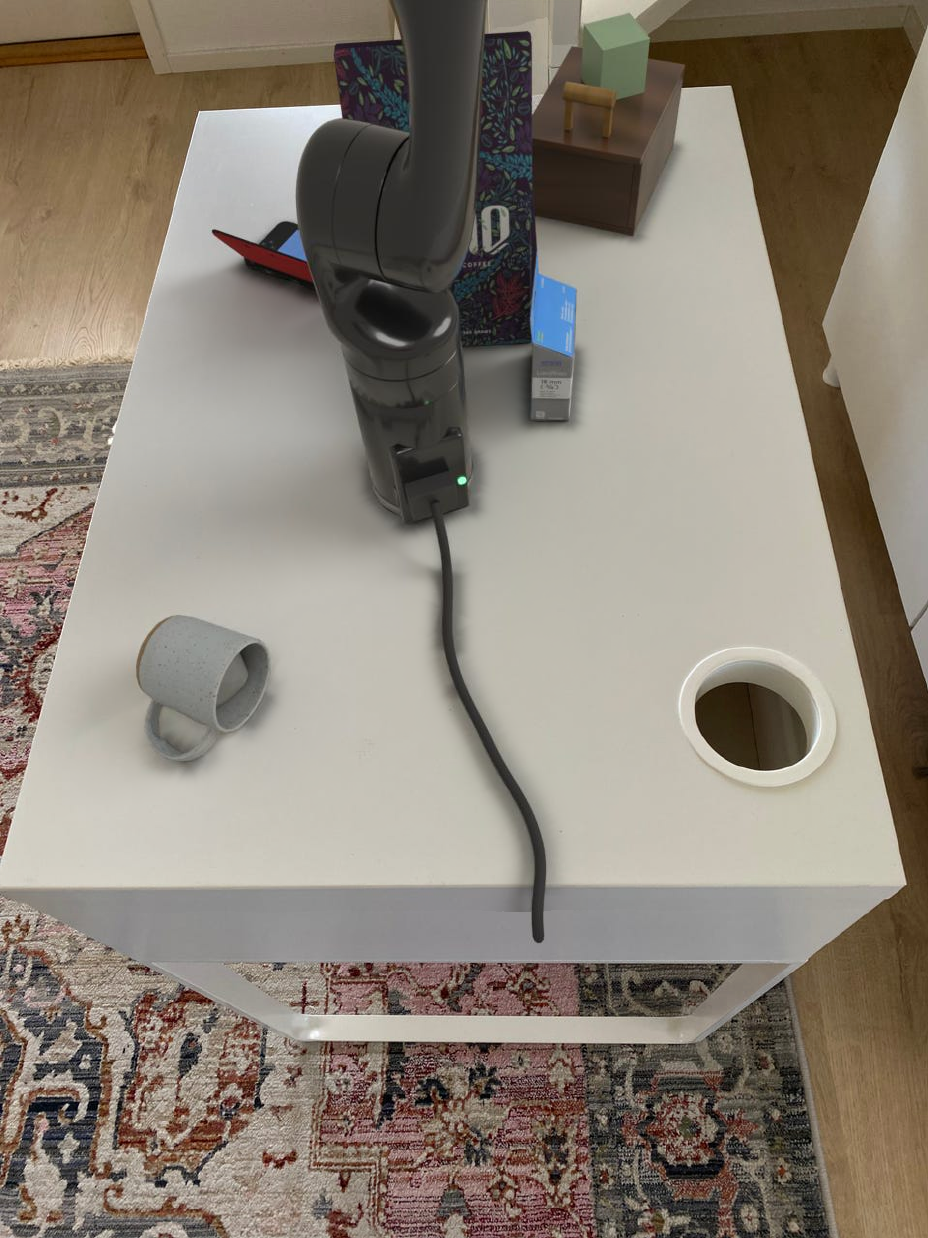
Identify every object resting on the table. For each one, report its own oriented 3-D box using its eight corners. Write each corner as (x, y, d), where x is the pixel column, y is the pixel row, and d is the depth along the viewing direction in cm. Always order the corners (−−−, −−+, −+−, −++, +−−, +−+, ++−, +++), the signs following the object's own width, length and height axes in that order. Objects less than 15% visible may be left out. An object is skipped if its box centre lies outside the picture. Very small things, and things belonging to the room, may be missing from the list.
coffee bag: (537, 346, 94) (541, 64, 69) (373, 354, 94) (320, 78, 70) (533, 288, 98) (535, 3, 73) (376, 297, 98) (327, 17, 74)
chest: (633, 236, 101) (642, 160, 93) (523, 212, 104) (522, 138, 96) (673, 148, 108) (684, 72, 100) (568, 129, 110) (571, 53, 103)
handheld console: (378, 258, 101) (368, 198, 95) (323, 323, 97) (308, 264, 90) (284, 225, 105) (268, 165, 98) (226, 286, 101) (206, 227, 94)
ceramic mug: (196, 635, 79) (165, 590, 73) (281, 667, 77) (256, 623, 71) (129, 745, 75) (88, 707, 68) (216, 782, 73) (183, 747, 66)
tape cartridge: (570, 423, 89) (576, 323, 78) (529, 421, 89) (529, 321, 78) (574, 354, 93) (580, 250, 82) (534, 352, 93) (535, 249, 82)
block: (644, 92, 97) (650, 37, 92) (599, 104, 97) (602, 50, 92) (624, 66, 100) (629, 12, 95) (580, 78, 99) (583, 23, 94)
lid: (640, 165, 93) (646, 113, 88) (519, 142, 96) (519, 90, 91) (684, 71, 100) (692, 18, 95) (571, 52, 103) (573, 0, 98)
